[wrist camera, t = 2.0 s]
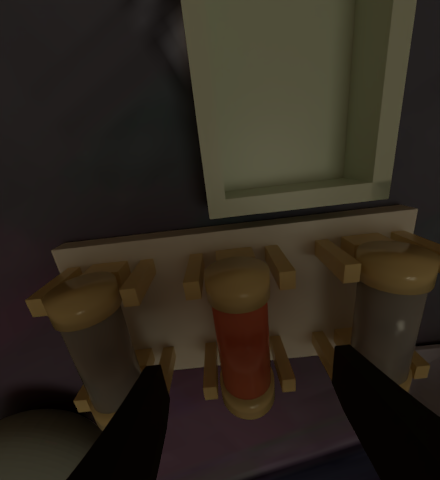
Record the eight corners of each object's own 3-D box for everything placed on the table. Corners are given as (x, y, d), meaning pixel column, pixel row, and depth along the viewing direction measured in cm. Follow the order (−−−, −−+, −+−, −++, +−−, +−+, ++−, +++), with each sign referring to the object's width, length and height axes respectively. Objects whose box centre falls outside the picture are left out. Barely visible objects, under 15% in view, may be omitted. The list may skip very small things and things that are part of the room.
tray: (350, 189, 13) (388, 198, 10) (210, 205, 13) (209, 219, 10) (376, -123, 9) (453, -255, 6) (172, -94, 9) (153, -209, 6)
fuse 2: (385, 355, 14) (423, 404, 11) (335, 358, 14) (361, 407, 11) (405, 238, 11) (462, 264, 8) (345, 243, 11) (381, 271, 9)
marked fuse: (269, 367, 14) (279, 418, 11) (222, 369, 14) (221, 420, 11) (264, 254, 11) (275, 285, 9) (206, 259, 12) (199, 290, 9)
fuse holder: (379, 334, 17) (433, 392, 12) (109, 362, 17) (75, 427, 13) (400, 204, 13) (482, 225, 9) (64, 242, 14) (1, 278, 10)
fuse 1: (156, 378, 14) (139, 432, 11) (111, 380, 14) (84, 433, 12) (125, 269, 11) (93, 304, 9) (71, 274, 12) (23, 309, 9)
